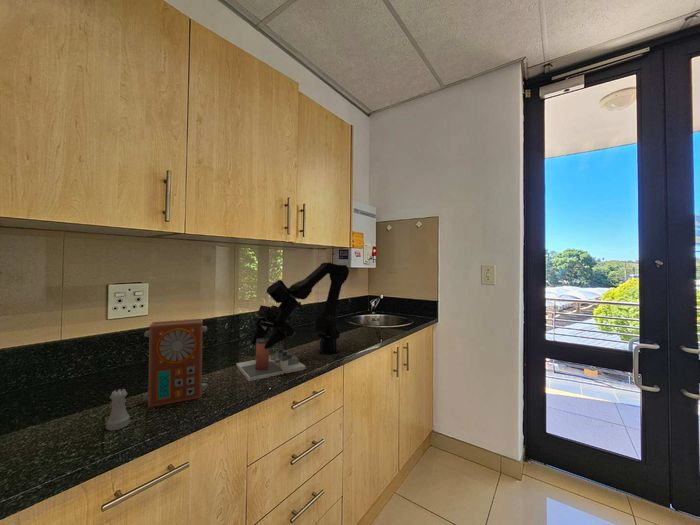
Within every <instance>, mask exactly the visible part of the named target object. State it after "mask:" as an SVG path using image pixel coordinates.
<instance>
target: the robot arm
mask: <svg viewBox="0 0 700 525" xmlns="http://www.w3.org/2000/svg"><path fill="white" fill-rule="evenodd" d="M349 274H350V269H349V267H348V266H347V264H336V263H333V262H322V263H321V264H320V265H319V266H318V267H317V268H316V269H314V270H313V271H312V272H311V273H310V274H309V275H308V276H306V277H305V278H304V279H302V280H298V281H296V282H295V283H293V284H292V285H291V286H289V287H287V286H286V284H285V283H284V281H283V280H282V279H281V280H280V279H277V281H275V282H273V283H272V284H270V285H269V286H268V287H267V289H266V294H268V295H269V297H271V298H272V300H273V301H274V302H275V303H277V304H279V305H273V304H272V305H271V306H269V305H262V304H261V305H259V306H260V307H259V309H258V311H257V315H260V316H256V317H254V319H253V320H252V322H253V325H254V326H255V331H254V334H253V337H252V339H251V343H250V344H251V345H252V346H254V345H256V340H257V339H258V338H265V336H267V335H268V334H269V331H270V330H271V329H272V333H271V335H270V337H268V338H269V340H268V342H267V343H266V345H265V347H264V348H265V349H268V348H269V349H270V348H271V347H273V346H275V345H276V344H279V343H280V342H282V341H284V340H286V339H288V338H292V337H294V335H295V328H294V327H293V326H292V325H291V324H290V323H289V322H288V321H291V320H292V318H291V316H292V314H294V312H295V310H302V309H303V307H302V302H301V301H298V300H306V299H307V298H308V297H309V296H310V294H311V293H312V292H313V291H312V290H313V288H314V287H315V286H316V285H317V284H318V283H319V282H321V280H323V279H324V277H325V276H327V275H329V281H330V286H329V291H328V293H327V294H328V295H327V298H326V301H325V306H324V310H323V312H322V314H321V315H318V316H317V317H316V322H315V324H314V326H315V331H316V334H317V337H318V338H320V341H319V350H318V352H319V353H322V354H325V355H329V354H335V353H338V352H339V350H337V340H338V339H340V334H341V333H340V332H339V330H338V328H336V327H337V321H336V317H335V314H336V312H337V305H338V302H339V298H340V294H341V290H342V285H343V284H344V283H345V282H346V281H347V279H348V277H349ZM262 316H263V317H262Z"/></svg>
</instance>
